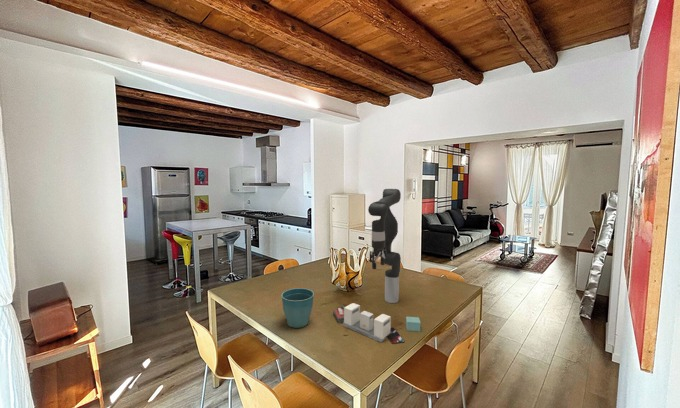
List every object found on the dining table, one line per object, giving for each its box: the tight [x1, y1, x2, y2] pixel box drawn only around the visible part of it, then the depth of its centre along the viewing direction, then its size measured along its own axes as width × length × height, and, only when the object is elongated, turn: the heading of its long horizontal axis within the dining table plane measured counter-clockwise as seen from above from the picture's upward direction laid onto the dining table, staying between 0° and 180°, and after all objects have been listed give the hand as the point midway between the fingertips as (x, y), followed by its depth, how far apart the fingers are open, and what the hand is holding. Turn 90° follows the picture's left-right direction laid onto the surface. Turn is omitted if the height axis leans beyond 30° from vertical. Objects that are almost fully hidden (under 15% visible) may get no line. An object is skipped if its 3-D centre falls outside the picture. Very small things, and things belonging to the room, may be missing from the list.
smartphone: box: [386, 326, 406, 345], centre depth 150 cm, size 7×1×15 cm
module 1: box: [344, 302, 361, 325], centre depth 161 cm, size 8×5×9 cm, turn 140°
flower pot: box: [281, 287, 315, 329], centre depth 162 cm, size 18×18×17 cm
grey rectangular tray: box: [342, 320, 391, 343], centre depth 155 cm, size 10×25×2 cm, turn 50°
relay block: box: [405, 316, 422, 332], centre depth 157 cm, size 5×6×7 cm
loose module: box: [360, 310, 374, 331], centre depth 155 cm, size 4×6×8 cm
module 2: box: [373, 313, 392, 339], centre depth 148 cm, size 8×5×9 cm, turn 140°
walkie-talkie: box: [333, 304, 345, 324], centre depth 172 cm, size 9×4×20 cm
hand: (378, 266), depth 162 cm, fingers open, 8 cm apart
